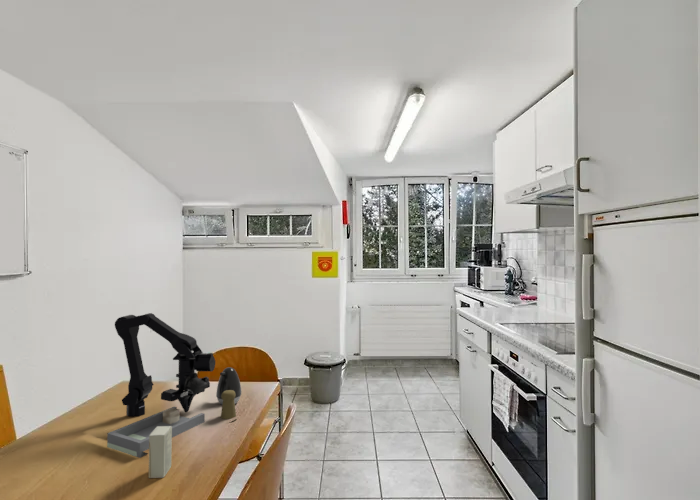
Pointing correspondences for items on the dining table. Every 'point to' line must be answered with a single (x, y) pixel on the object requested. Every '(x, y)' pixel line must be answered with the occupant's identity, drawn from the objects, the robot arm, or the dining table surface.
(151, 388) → the robot arm
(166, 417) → the birch block
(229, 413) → the cork
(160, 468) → the skincare box
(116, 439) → the box
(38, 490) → the dining table surface
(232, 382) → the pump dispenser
